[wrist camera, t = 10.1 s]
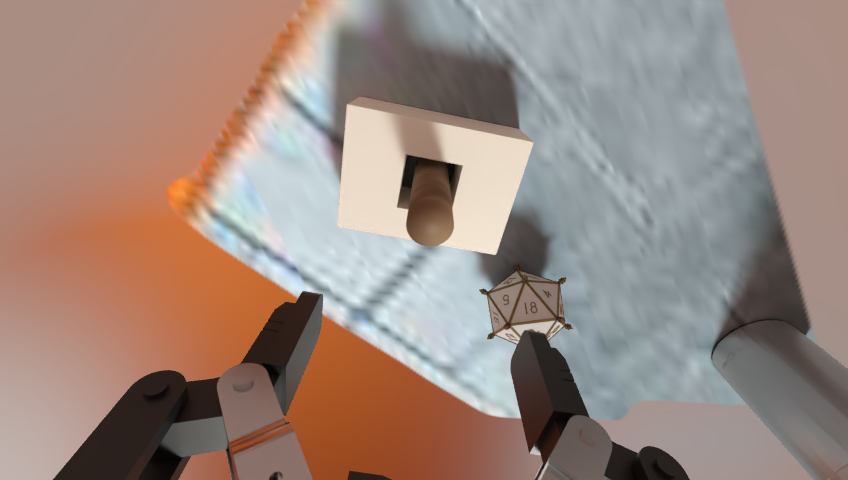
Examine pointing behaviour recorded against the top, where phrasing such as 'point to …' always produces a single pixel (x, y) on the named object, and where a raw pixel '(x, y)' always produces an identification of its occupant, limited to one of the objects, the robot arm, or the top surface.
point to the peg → (430, 204)
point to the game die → (525, 306)
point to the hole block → (438, 140)
